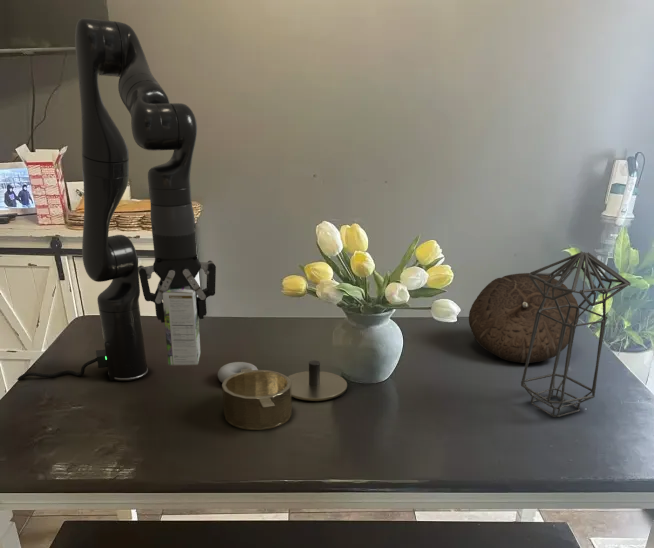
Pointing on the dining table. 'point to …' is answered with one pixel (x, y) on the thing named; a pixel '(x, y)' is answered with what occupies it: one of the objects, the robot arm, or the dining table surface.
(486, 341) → the brown fungus
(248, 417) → the pot
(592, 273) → the geometric lantern
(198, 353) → the syrup box
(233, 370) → the donut
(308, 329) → the dining table surface
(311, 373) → the lid
